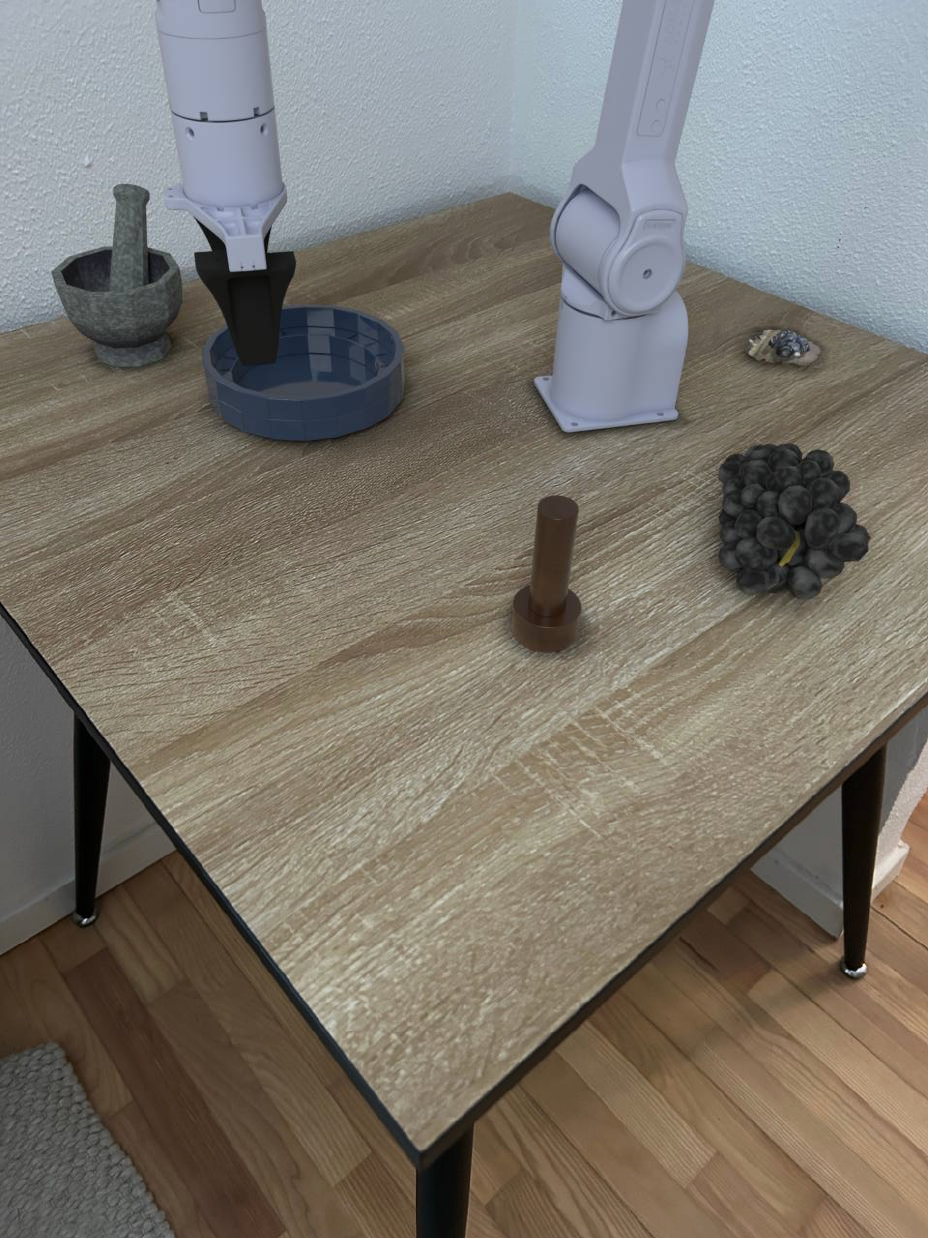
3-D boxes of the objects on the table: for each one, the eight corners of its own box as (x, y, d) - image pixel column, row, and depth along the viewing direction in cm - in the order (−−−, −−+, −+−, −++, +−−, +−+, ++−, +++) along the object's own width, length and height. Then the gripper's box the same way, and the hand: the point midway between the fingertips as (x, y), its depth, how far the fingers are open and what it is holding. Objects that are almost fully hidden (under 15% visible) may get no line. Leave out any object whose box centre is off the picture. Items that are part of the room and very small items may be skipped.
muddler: (565, 602, 60) (581, 481, 54) (587, 646, 57) (606, 524, 51) (502, 611, 59) (511, 490, 53) (522, 657, 56) (533, 534, 50)
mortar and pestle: (163, 384, 78) (132, 234, 70) (53, 371, 79) (10, 221, 71) (213, 321, 86) (191, 180, 78) (113, 310, 87) (81, 170, 79)
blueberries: (743, 368, 82) (748, 348, 81) (739, 326, 88) (743, 306, 87) (825, 376, 82) (831, 356, 80) (815, 333, 88) (821, 313, 86)
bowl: (384, 341, 84) (382, 296, 82) (422, 434, 74) (422, 387, 71) (204, 358, 81) (196, 312, 79) (217, 458, 71) (209, 409, 68)
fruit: (745, 364, 64) (785, 493, 53) (854, 407, 65) (916, 542, 54) (680, 467, 70) (704, 604, 58) (782, 505, 71) (825, 646, 60)
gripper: (147, 74, 59) (185, 291, 68) (150, 153, 48) (195, 396, 58) (265, 69, 60) (287, 282, 69) (293, 145, 50) (314, 384, 59)
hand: (253, 334), depth 64 cm, fingers open, 7 cm apart
